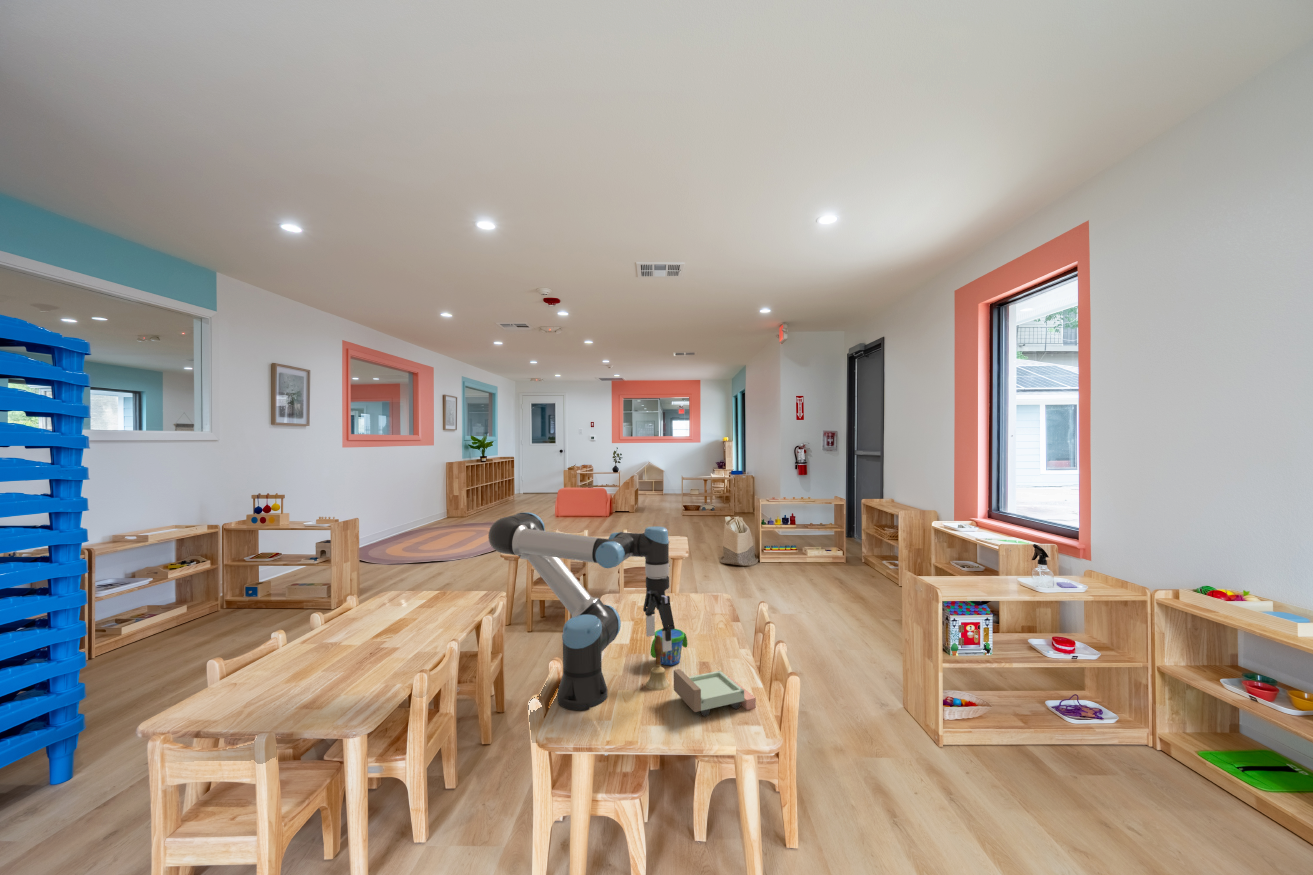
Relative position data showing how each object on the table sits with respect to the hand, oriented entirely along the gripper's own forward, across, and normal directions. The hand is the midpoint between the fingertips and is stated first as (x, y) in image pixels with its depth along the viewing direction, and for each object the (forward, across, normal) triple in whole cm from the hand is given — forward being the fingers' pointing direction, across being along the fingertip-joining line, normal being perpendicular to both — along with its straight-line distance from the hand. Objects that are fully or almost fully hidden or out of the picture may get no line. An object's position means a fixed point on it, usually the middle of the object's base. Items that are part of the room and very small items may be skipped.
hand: (658, 642), depth 164 cm
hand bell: (+14, 0, 0) cm, 14 cm away
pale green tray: (+13, -17, -10) cm, 23 cm away
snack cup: (+14, +16, -10) cm, 23 cm away
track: (+14, -17, -5) cm, 22 cm away
